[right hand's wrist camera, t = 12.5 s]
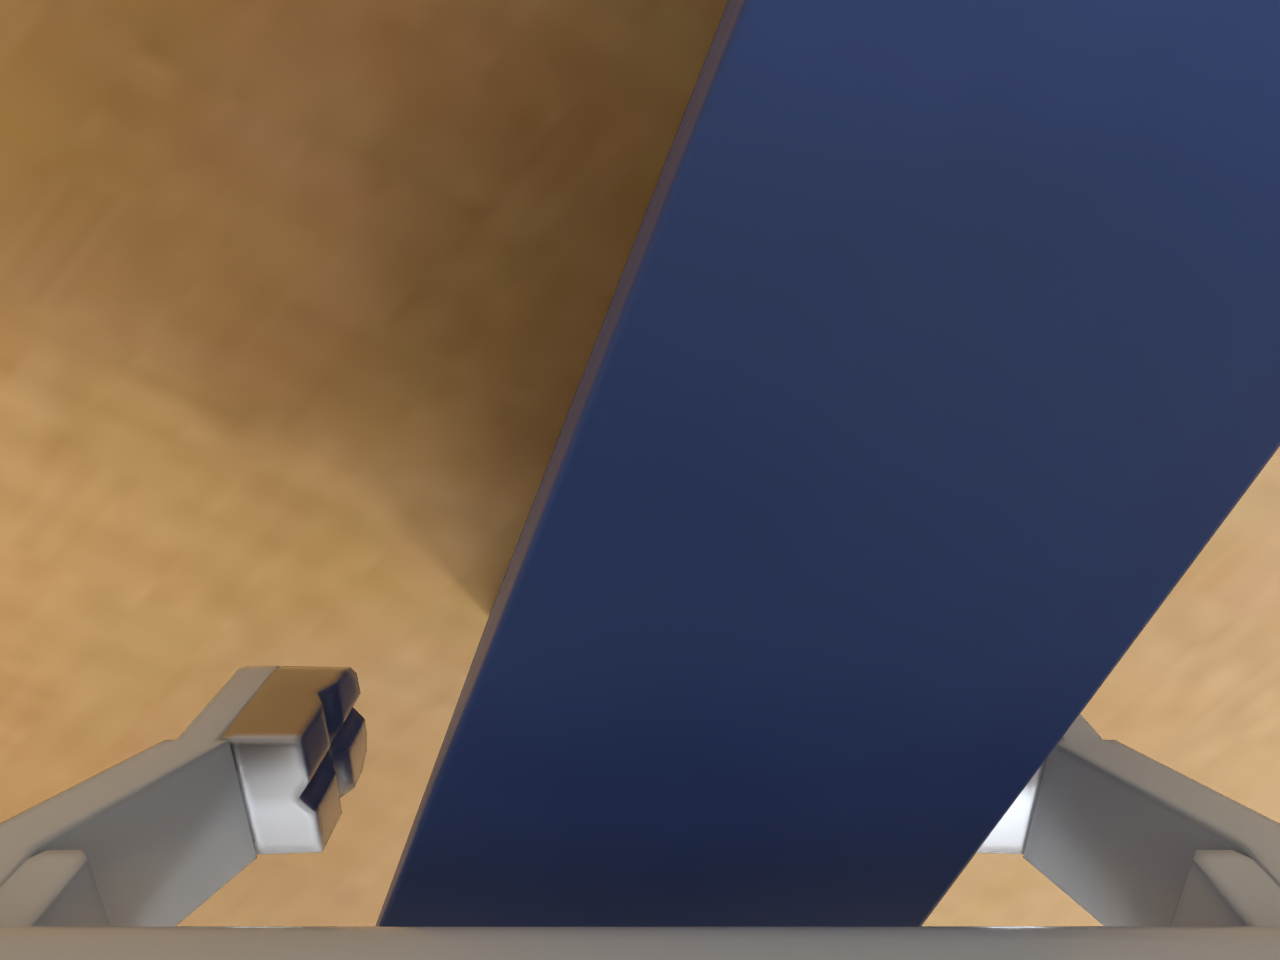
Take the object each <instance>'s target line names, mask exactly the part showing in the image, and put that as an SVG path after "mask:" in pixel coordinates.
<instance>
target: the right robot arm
mask: <svg viewBox="0 0 1280 960" xmlns="http://www.w3.org/2000/svg"><path fill="white" fill-rule="evenodd" d="M359 695H360V688H359V683H358V678H357V673H356V672H355V671H354V670H353V669H351V668H348V667H301V666H282V667H279V666H247V667H244V668H241V669H239V670H238V671H237V672H236V673H235V674H234V675H233V676H232V677H231V679H230V680H229V681H228V682H227V683H226V684H225V685H224V687H223V688H222V689H221V690H220V691H219V692H218V693H217V695H216V696H215V697H214V698H213V699H212V700H211V701H210V703H209V704H208V705H207V706H206V707H205V708H204V709H203V711H202V712H201V713H200V714H199V715H198V716H197V717H196V718H195V720H194V721H193V722H192V723H191V724H190V725H189V726H188V728H187V729H186V730H185V731H184V732H183V733H182V734H181V736H180V737H179V738H178V739H177V740H164V741H162V742H160V743H158V744H156V745H154V746H152V747H150V748H148V749H146V750H144V751H143V752H141V753H139V754H137V755H135V756H133V757H131V758H129V759H127V760H125V761H123V762H121V763H119V764H117V765H115V766H113V767H111V768H109V769H107V770H105V771H103V772H101V773H99V774H97V775H95V776H93V777H91V778H89V779H87V780H85V781H83V782H81V783H79V784H77V785H75V786H73V787H71V788H69V789H67V790H65V791H63V792H62V793H60V794H58V795H56V796H54V797H52V798H50V799H48V800H46V801H44V802H42V803H40V804H38V805H36V806H34V807H32V808H30V809H28V810H26V811H24V812H22V813H20V814H18V815H16V816H14V817H12V818H10V819H8V820H6V821H4V822H2V823H0V960H1280V824H1279V823H1277V822H1275V821H1273V820H1271V819H1269V818H1267V817H1265V816H1264V815H1262V814H1260V813H1258V812H1256V811H1254V810H1252V809H1250V808H1248V807H1246V806H1244V805H1242V804H1240V803H1238V802H1236V801H1234V800H1232V799H1230V798H1228V797H1226V796H1224V795H1222V794H1220V793H1218V792H1216V791H1214V790H1212V789H1210V788H1208V787H1206V786H1204V785H1202V784H1200V783H1199V782H1197V781H1195V780H1193V779H1191V778H1189V777H1187V776H1185V775H1183V774H1181V773H1179V772H1177V771H1175V770H1173V769H1171V768H1169V767H1167V766H1165V765H1163V764H1161V763H1159V762H1157V761H1155V760H1153V759H1151V758H1149V757H1147V756H1145V755H1143V754H1141V753H1139V752H1137V751H1135V750H1133V749H1132V748H1130V747H1128V746H1126V745H1124V744H1122V743H1120V742H1118V741H1116V740H1103V739H1102V738H1101V737H1100V736H1099V734H1098V733H1097V732H1096V731H1095V730H1094V729H1093V728H1092V726H1091V725H1090V724H1089V723H1088V722H1087V721H1086V720H1085V719H1084V717H1083V716H1082V715H1081V714H1079V715H1078V717H1077V718H1076V719H1075V721H1074V722H1073V723H1072V725H1071V726H1070V728H1069V729H1068V730H1067V732H1066V733H1065V734H1064V736H1063V737H1062V738H1061V740H1060V741H1059V742H1058V744H1057V745H1056V746H1055V748H1054V749H1053V750H1052V752H1051V753H1050V754H1049V756H1048V757H1047V758H1046V760H1045V761H1044V762H1043V764H1042V765H1041V766H1040V768H1039V769H1038V770H1037V772H1036V773H1035V774H1034V776H1033V777H1032V778H1031V780H1030V781H1029V782H1028V784H1027V785H1026V786H1025V788H1024V789H1023V790H1022V792H1021V793H1020V794H1019V796H1018V797H1017V799H1016V800H1015V801H1014V803H1013V804H1012V805H1011V807H1010V808H1009V809H1008V811H1007V812H1006V813H1005V815H1004V816H1003V817H1002V819H1001V820H1000V821H999V823H998V824H997V825H996V827H995V828H994V829H993V831H992V832H991V833H990V835H989V836H988V837H987V839H986V840H985V841H984V843H983V844H982V845H981V847H980V848H979V849H978V851H977V852H976V853H1000V854H1024V856H1023V858H1025V859H1026V860H1027V861H1028V862H1029V863H1031V864H1032V865H1033V866H1034V867H1035V868H1036V869H1038V870H1039V871H1040V872H1041V873H1042V874H1044V875H1045V876H1046V877H1047V878H1048V879H1049V880H1051V881H1052V882H1053V883H1054V884H1055V885H1057V886H1058V887H1059V888H1060V889H1061V890H1062V891H1064V892H1065V893H1066V894H1067V895H1068V896H1069V897H1071V898H1072V899H1073V900H1074V901H1075V902H1077V903H1078V904H1079V905H1080V906H1081V907H1082V908H1084V909H1085V910H1086V911H1087V912H1088V913H1090V914H1091V915H1092V916H1093V917H1094V918H1095V919H1097V920H1098V921H1099V922H1100V923H1101V924H1103V925H1104V926H1078V927H838V926H686V927H175V926H176V925H178V924H179V923H180V922H181V921H182V920H184V919H185V918H186V917H187V916H188V915H189V914H191V913H192V912H193V911H194V910H195V909H197V908H198V907H199V906H200V905H201V904H202V903H204V902H205V901H206V900H207V899H208V898H210V897H211V896H212V895H213V894H214V893H215V892H217V891H218V890H219V889H220V888H221V887H223V886H224V885H225V884H226V883H227V882H229V881H230V880H231V879H232V878H233V877H234V876H236V875H237V874H238V873H239V872H240V871H242V870H243V869H244V868H245V867H246V866H247V865H249V864H250V863H251V862H252V861H253V860H255V859H256V857H257V856H256V854H279V853H314V852H323V850H324V848H325V846H326V844H327V842H328V840H329V838H330V836H331V834H332V832H333V830H334V828H335V826H336V824H337V822H338V820H339V818H340V816H341V814H342V809H341V803H340V797H342V796H343V795H345V794H346V793H347V792H349V791H350V790H352V789H353V788H354V787H355V785H356V783H357V781H358V779H359V777H360V774H361V772H362V769H363V764H364V759H365V755H366V747H367V732H366V725H365V719H364V718H363V717H362V716H361V715H360V714H359V713H358V712H357V711H356V710H355V709H354V708H353V705H354V704H355V702H356V700H357V698H358V697H359Z"/></svg>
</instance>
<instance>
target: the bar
mask: <svg viewBox="0 0 1280 960" xmlns="http://www.w3.org/2000/svg"><path fill="white" fill-rule="evenodd" d="M1279 446H1280V0H728V2H727V5H726V8H725V10H724V13H723V15H722V18H721V20H720V23H719V26H718V28H717V31H716V33H715V36H714V38H713V41H712V44H711V46H710V49H709V51H708V54H707V56H706V59H705V62H704V64H703V67H702V69H701V72H700V74H699V77H698V80H697V82H696V85H695V87H694V90H693V93H692V95H691V98H690V100H689V103H688V105H687V108H686V111H685V113H684V116H683V118H682V121H681V123H680V126H679V129H678V131H677V134H676V136H675V139H674V141H673V144H672V147H671V149H670V152H669V154H668V157H667V159H666V162H665V165H664V167H663V170H662V172H661V175H660V177H659V180H658V183H657V185H656V188H655V190H654V193H653V196H652V198H651V201H650V203H649V206H648V208H647V211H646V214H645V216H644V219H643V221H642V224H641V226H640V229H639V232H638V234H637V237H636V239H635V242H634V244H633V247H632V250H631V252H630V255H629V257H628V260H627V262H626V265H625V268H624V270H623V273H622V275H621V278H620V281H619V283H618V286H617V288H616V291H615V293H614V296H613V299H612V301H611V304H610V306H609V309H608V311H607V314H606V317H605V319H604V322H603V324H602V327H601V329H600V332H599V335H598V337H597V340H596V342H595V345H594V347H593V350H592V353H591V355H590V358H589V360H588V363H587V366H586V368H585V371H584V373H583V376H582V378H581V381H580V384H579V386H578V389H577V391H576V394H575V396H574V399H573V402H572V404H571V407H570V409H569V412H568V414H567V417H566V420H565V422H564V425H563V427H562V430H561V432H560V435H559V438H558V440H557V443H556V445H555V448H554V450H553V453H552V456H551V458H550V461H549V463H548V466H547V469H546V471H545V474H544V476H543V479H542V481H541V484H540V487H539V489H538V492H537V494H536V497H535V499H534V502H533V505H532V507H531V510H530V512H529V515H528V517H527V520H526V523H525V525H524V528H523V530H522V533H521V535H520V538H519V541H518V543H517V546H516V548H515V551H514V554H513V556H512V559H511V561H510V564H509V566H508V569H507V572H506V574H505V577H504V579H503V582H502V584H501V587H500V590H499V592H498V595H497V597H496V600H495V602H494V605H493V608H492V610H491V613H490V615H489V618H488V621H487V623H486V626H485V629H484V631H483V634H482V637H481V640H480V642H479V645H478V648H477V651H476V653H475V656H474V659H473V661H472V664H471V667H470V670H469V672H468V675H467V678H466V681H465V683H464V686H463V689H462V692H461V694H460V697H459V700H458V702H457V705H456V708H455V711H454V713H453V716H452V719H451V722H450V724H449V727H448V730H447V732H446V735H445V738H444V741H443V743H442V746H441V749H440V752H439V754H438V757H437V760H436V762H435V765H434V768H433V771H432V773H431V776H430V779H429V782H428V784H427V787H426V790H425V793H424V795H423V798H422V801H421V803H420V806H419V809H418V812H417V814H416V817H415V820H414V823H413V825H412V828H411V831H410V833H409V836H408V839H407V842H406V844H405V847H404V850H403V853H402V855H401V858H400V861H399V863H398V866H397V869H396V872H395V874H394V877H393V880H392V883H391V885H390V888H389V891H388V893H387V896H386V899H385V902H384V904H383V907H382V910H381V913H380V915H379V918H378V921H377V924H376V926H375V927H686V926H838V927H921V926H922V924H923V923H924V922H925V920H926V919H927V918H928V916H929V915H930V914H931V912H932V911H933V910H934V908H935V907H936V906H937V904H938V903H939V902H940V900H941V899H942V898H943V896H944V895H945V894H946V892H947V891H948V890H949V888H950V887H951V886H952V884H953V883H954V882H955V880H956V879H957V878H958V876H959V875H960V874H961V872H962V871H963V869H964V868H965V867H966V865H967V864H968V863H969V861H970V860H971V859H972V857H973V856H974V855H975V853H976V852H977V851H978V849H979V848H980V847H981V845H982V844H983V843H984V841H985V840H986V839H987V837H988V836H989V835H990V833H991V832H992V831H993V829H994V828H995V827H996V825H997V824H998V823H999V821H1000V820H1001V819H1002V817H1003V816H1004V815H1005V813H1006V812H1007V811H1008V809H1009V808H1010V807H1011V805H1012V804H1013V803H1014V801H1015V800H1016V799H1017V797H1018V796H1019V794H1020V793H1021V792H1022V790H1023V789H1024V788H1025V786H1026V785H1027V784H1028V782H1029V781H1030V780H1031V778H1032V777H1033V776H1034V774H1035V773H1036V772H1037V770H1038V769H1039V768H1040V766H1041V765H1042V764H1043V762H1044V761H1045V760H1046V758H1047V757H1048V756H1049V754H1050V753H1051V752H1052V750H1053V749H1054V748H1055V746H1056V745H1057V744H1058V742H1059V741H1060V740H1061V738H1062V737H1063V736H1064V734H1065V733H1066V732H1067V730H1068V729H1069V728H1070V726H1071V725H1072V723H1073V722H1074V721H1075V719H1076V718H1077V717H1078V715H1079V714H1080V713H1081V711H1082V710H1083V709H1084V707H1085V706H1086V705H1087V703H1088V702H1089V701H1090V699H1091V698H1092V697H1093V695H1094V694H1095V693H1096V691H1097V690H1098V689H1099V687H1100V686H1101V685H1102V683H1103V682H1104V681H1105V679H1106V678H1107V677H1108V675H1109V674H1110V673H1111V671H1112V670H1113V669H1114V667H1115V666H1116V665H1117V663H1118V662H1119V661H1120V659H1121V658H1122V657H1123V655H1124V654H1125V652H1126V651H1127V650H1128V648H1129V647H1130V646H1131V644H1132V643H1133V642H1134V640H1135V639H1136V638H1137V636H1138V635H1139V634H1140V632H1141V631H1142V630H1143V628H1144V627H1145V626H1146V624H1147V623H1148V622H1149V620H1150V619H1151V618H1152V616H1153V615H1154V614H1155V612H1156V611H1157V610H1158V608H1159V607H1160V606H1161V604H1162V603H1163V602H1164V600H1165V599H1166V598H1167V596H1168V595H1169V594H1170V592H1171V591H1172V590H1173V588H1174V587H1175V586H1176V584H1177V583H1178V581H1179V580H1180V579H1181V577H1182V576H1183V575H1184V573H1185V572H1186V571H1187V569H1188V568H1189V567H1190V565H1191V564H1192V563H1193V561H1194V560H1195V559H1196V557H1197V556H1198V555H1199V553H1200V552H1201V551H1202V549H1203V548H1204V547H1205V545H1206V544H1207V543H1208V541H1209V540H1210V539H1211V537H1212V536H1213V535H1214V533H1215V532H1216V531H1217V529H1218V528H1219V527H1220V525H1221V524H1222V523H1223V521H1224V520H1225V519H1226V517H1227V516H1228V515H1229V513H1230V512H1231V511H1232V509H1233V508H1234V506H1235V505H1236V504H1237V502H1238V501H1239V500H1240V498H1241V497H1242V496H1243V494H1244V493H1245V492H1246V490H1247V489H1248V488H1249V486H1250V485H1251V484H1252V482H1253V481H1254V480H1255V478H1256V477H1257V476H1258V474H1259V473H1260V472H1261V470H1262V469H1263V468H1264V466H1265V465H1266V464H1267V462H1268V461H1269V460H1270V458H1271V457H1272V456H1273V454H1274V453H1275V452H1276V450H1277V449H1278V448H1279Z"/></svg>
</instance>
